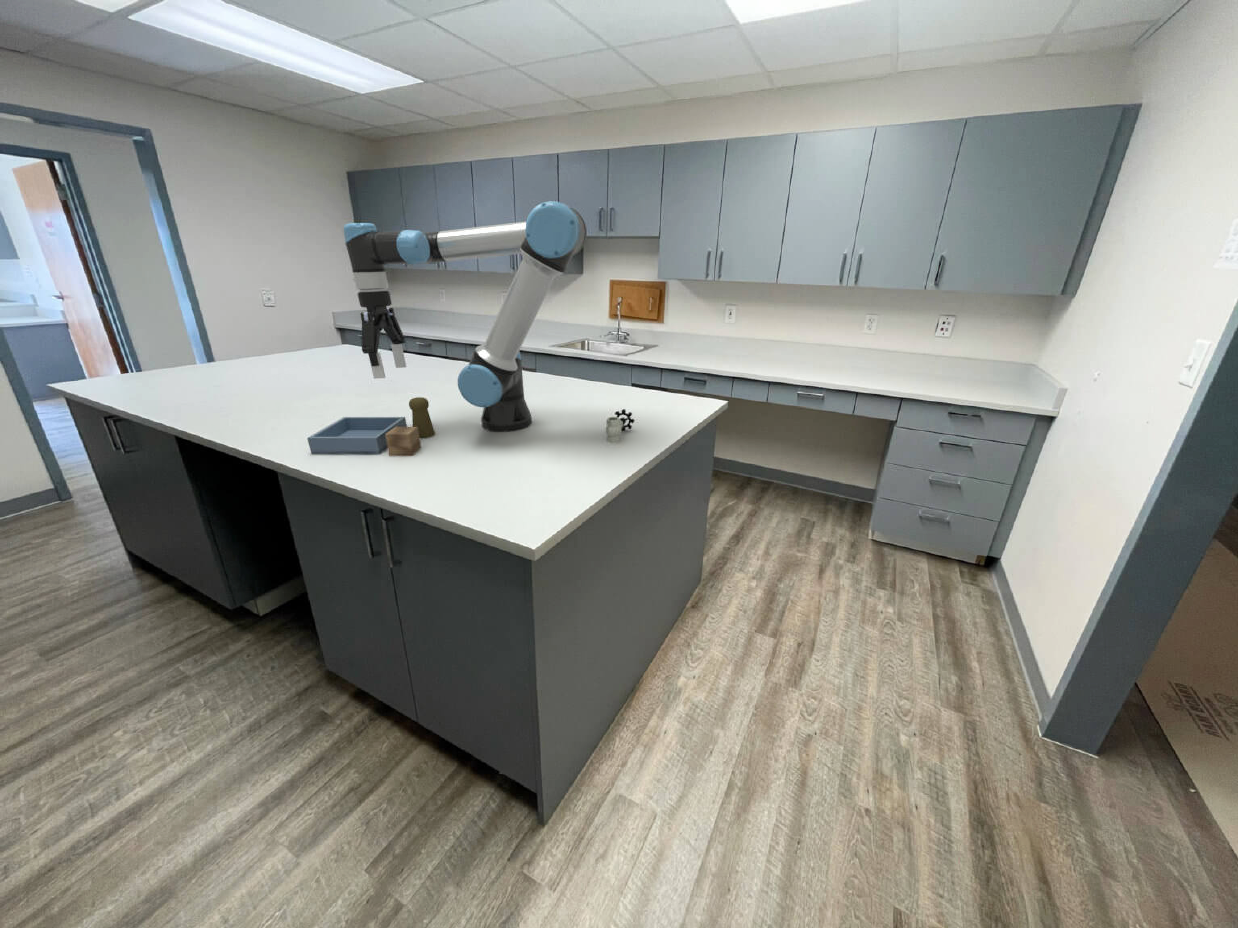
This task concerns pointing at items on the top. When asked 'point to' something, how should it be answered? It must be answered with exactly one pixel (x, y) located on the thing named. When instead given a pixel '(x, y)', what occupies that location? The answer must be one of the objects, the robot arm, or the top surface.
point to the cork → (421, 417)
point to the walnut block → (403, 441)
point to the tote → (354, 435)
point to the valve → (617, 426)
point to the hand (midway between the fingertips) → (391, 372)
